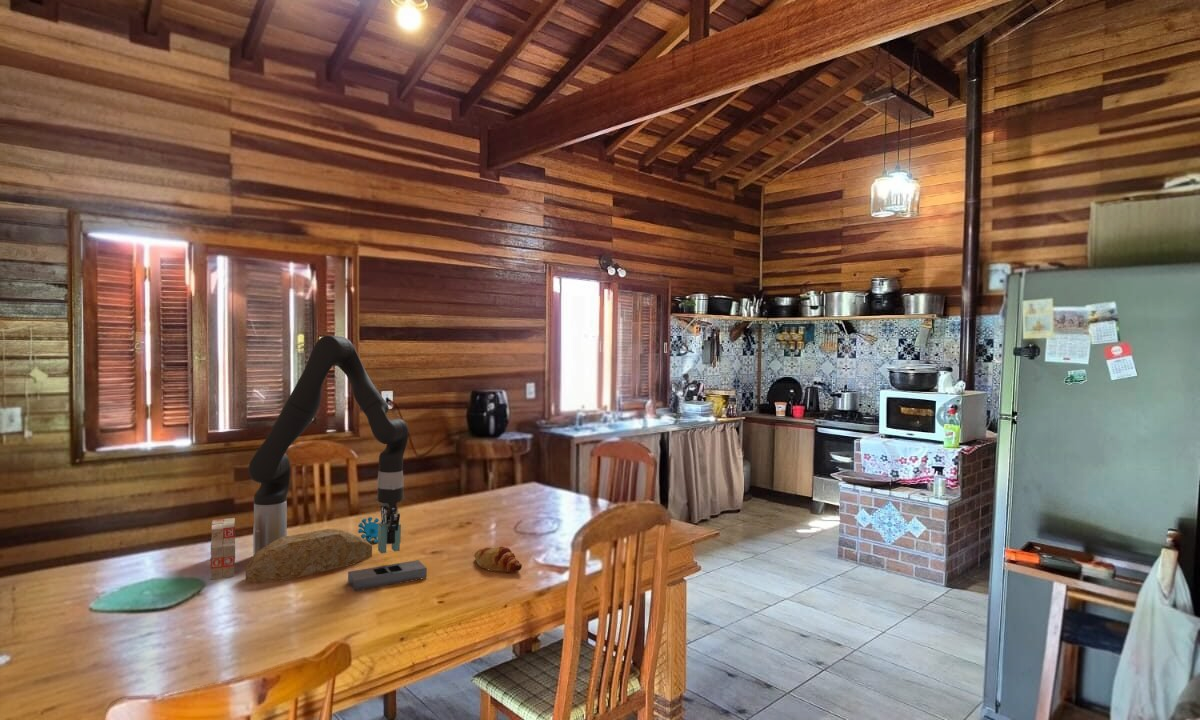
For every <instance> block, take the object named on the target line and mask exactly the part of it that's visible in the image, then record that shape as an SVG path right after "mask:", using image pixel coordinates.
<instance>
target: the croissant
mask: <svg viewBox="0 0 1200 720" xmlns="http://www.w3.org/2000/svg"><path fill="white" fill-rule="evenodd" d="M474 559H475V562H476V563H477V565H478V566H479V567H480V568H481V569H484V568H485V569H484V570H487V569H489V570H492V571H491V572H497V571H498V572H500V571H501V572H502V573H506V572H509V573H517V572H519V571H521V569H522V567H523V564H522V563H520V561H519V560H518V559H517V558H516V555H515V553H513V552H512V550H511V549H510V547H508V546H505V545H498V546H493V547H484V548H480V549H478V550H477V551H475V553H474ZM489 570H488V571H489Z"/></svg>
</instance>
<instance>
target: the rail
mask: <svg viewBox="0 0 1200 720" xmlns="http://www.w3.org/2000/svg"><path fill="white" fill-rule="evenodd" d="M427 569H428V568H427V566H426V565H424V564H423V563H422V562H421V561H420V560H419V559H416V560H411V561H405V562H400V563H399V562H398V563H393V564H386V565H381V566H374V567H369V568H364V569H363V568H362V569H356V570H352V571H350V570H349V571H348V572H347V573H348V574H347V583H348V584H349V586H350V587H351V589H352V590H353V591H354V592H359V591H364V590H363V589H365V590H369V589H375V588H380V586H381V587H385V586H386V585H387V586H392V585H396V583H398V584H401V583H400V582H403V583H407V582H406V581H409V582H412V581H411V580H414V581H417V580H416V579H420V580H422V579H421V578H425V579H427V578H426V577H427V576H428V575H427ZM358 590H359V591H358Z"/></svg>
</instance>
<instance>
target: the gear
mask: <svg viewBox="0 0 1200 720" xmlns="http://www.w3.org/2000/svg"><path fill="white" fill-rule="evenodd" d="M372 520H373V517H371V516H368V518H367V519H366V518H363V519H361V522H359V524H358V531H357V533H358V534H361V535H360V537H361V538H363V539H365V540H367V541H368V542H369V543H370V544H371V542H372V543H374V544H378V524H382V523H381V522H380V523H379V520H380V519H379V518H378V517H376V518H375V519H374V521H372ZM367 522H368V523H367ZM372 539H374V540H373V541H372Z"/></svg>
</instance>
